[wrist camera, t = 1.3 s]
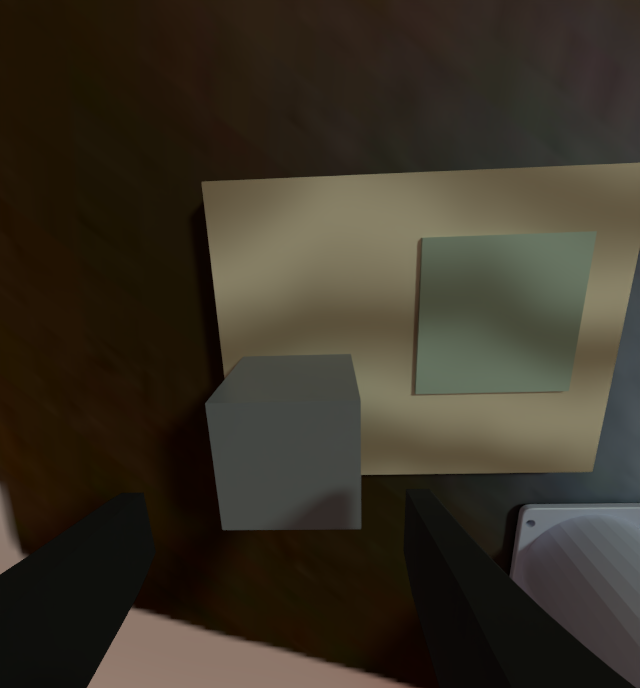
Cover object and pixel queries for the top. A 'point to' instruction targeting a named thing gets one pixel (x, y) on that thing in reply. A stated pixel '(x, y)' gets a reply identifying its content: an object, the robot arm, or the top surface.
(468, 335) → the board
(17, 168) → the top surface
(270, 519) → the grey matte cube
